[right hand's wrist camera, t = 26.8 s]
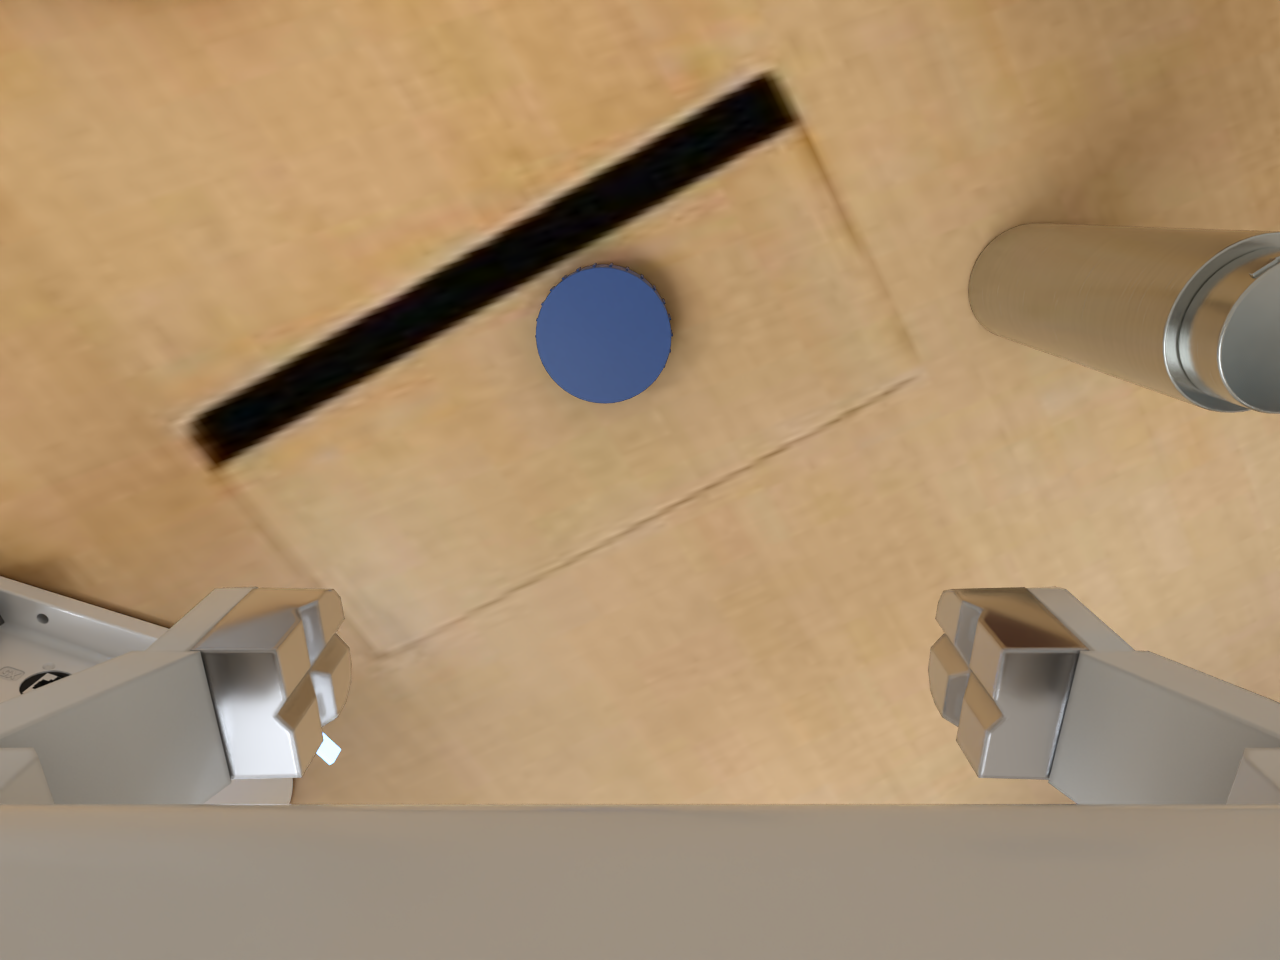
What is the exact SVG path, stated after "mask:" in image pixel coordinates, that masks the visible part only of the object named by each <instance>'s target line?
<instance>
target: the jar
mask: <svg viewBox="0 0 1280 960" xmlns="http://www.w3.org/2000/svg"><path fill="white" fill-rule="evenodd" d="M969 301H970V306H971V309H972V311H973V313H974V315H975V317H976V319H977V320H978V321H979V323H980V324H981V325H982V326H983V327H984V328H985V329H987V330H988V331H989V332H991V333H993V334H995V335H997V336H1000V337H1003V338H1006V339H1009V340H1011V341H1014V342H1017V343H1020V344H1023V345H1026V346H1028V347H1031V348H1034V349H1037V350H1040V351H1043V352H1045V353H1048V354H1051V355H1054V356H1057V357H1059V358H1062V359H1065V360H1068V361H1071V362H1074V363H1076V364H1079V365H1082V366H1085V367H1088V368H1091V369H1093V370H1096V371H1099V372H1102V373H1105V374H1108V375H1110V376H1113V377H1116V378H1119V379H1122V380H1125V381H1127V382H1130V383H1133V384H1136V385H1139V386H1142V387H1144V388H1147V389H1150V390H1153V391H1156V392H1159V393H1161V394H1164V395H1167V396H1170V397H1173V398H1176V399H1178V400H1181V401H1184V402H1187V403H1190V404H1193V405H1195V406H1198V407H1201V408H1204V409H1207V410H1211V411H1217V412H1230V413H1232V412H1243V411H1248V410H1255V411H1258V412H1263V413H1270V414H1280V232H1271V231H1243V230H1215V229H1187V228H1158V227H1130V226H1102V225H1074V224H1045V223H1030V224H1024V225H1019V226H1016V227H1014V228H1011V229H1009V230H1007V231H1005V232H1003V233H1002V234H1000V235H999V236H997V237H996V238H995V239H994V240H993V241H991V242H990V243H989V245H988V246H987V247H986V248H985V249H984V250H983V252H982V253H981V254H980V256H979V257H978V259H977V261H976V263H975V265H974V267H973V270H972V273H971V276H970V281H969Z"/></svg>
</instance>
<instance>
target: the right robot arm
mask: <svg viewBox="0 0 1280 960" xmlns="http://www.w3.org/2000/svg"><path fill="white" fill-rule="evenodd" d="M344 619H345V618H344V613H343V608H342V603H341V598H340V596H339V595H338V594H337V593H336V591H335V590H334V589H307V588H258V587H232V588H216V589H214V590H213V591H212V592H211V593H210V594H208V595H207V596H206V597H205V598H204V599H203V600H202V601H200V602H199V603H198V604H197V605H196V606H195V607H194V608H193V609H191V610H190V611H189V612H188V613H187V614H186V615H185V616H183V617H182V618H181V619H180V620H179V621H178V622H177V623H175V624H174V625H173V626H172V627H171V628H170V629H168V628H165V627H162V626H159V625H156V624H152V623H149V622H146V621H143V620H140V619H136V618H133V617H130V616H127V615H124V614H120V613H117V612H114V611H111V610H108V609H104V608H101V607H98V606H95V605H92V604H88V603H85V602H82V601H79V600H76V599H72V598H69V597H66V596H63V595H60V594H56V593H53V592H50V591H47V590H44V589H40V588H37V587H34V586H31V585H28V584H24V583H21V582H18V581H15V580H12V579H8V578H5V577H2V576H0V960H1280V703H1279V702H1276V701H1274V700H1271V699H1268V698H1266V697H1263V696H1261V695H1258V694H1256V693H1253V692H1251V691H1248V690H1246V689H1243V688H1241V687H1238V686H1236V685H1233V684H1231V683H1228V682H1225V681H1223V680H1220V679H1218V678H1215V677H1213V676H1210V675H1208V674H1205V673H1203V672H1200V671H1198V670H1195V669H1193V668H1190V667H1187V666H1185V665H1182V664H1180V663H1177V662H1175V661H1172V660H1170V659H1167V658H1165V657H1162V656H1160V655H1157V654H1155V653H1152V652H1149V651H1135V650H1134V649H1133V648H1132V647H1131V646H1130V645H1128V644H1127V643H1126V642H1125V641H1124V640H1123V639H1122V638H1121V637H1119V636H1118V635H1117V634H1116V633H1115V632H1114V631H1113V630H1111V629H1110V628H1109V627H1108V626H1107V625H1106V624H1105V623H1104V622H1102V621H1101V620H1100V619H1099V618H1098V617H1097V616H1096V615H1094V614H1093V613H1092V612H1091V611H1090V610H1089V609H1088V608H1087V607H1085V606H1084V605H1083V604H1082V603H1081V602H1080V601H1079V600H1078V599H1076V598H1075V597H1074V596H1073V595H1072V594H1071V593H1070V592H1068V591H1067V590H1066V589H1063V588H1059V587H1037V588H1025V587H1020V588H978V589H951V590H945V591H943V593H942V595H941V597H940V599H939V602H938V606H937V612H936V618H935V619H936V621H937V622H938V624H939V625H940V627H941V628H942V630H943V631H944V634H943V635H942V636H941V637H940V638H939V639H938V641H937V642H936V643H935V644H934V645H933V646H932V647H931V650H930V658H929V666H928V673H929V683H930V691H931V694H932V697H933V700H934V703H935V705H936V707H937V709H938V711H939V712H940V714H941V716H942V717H943V718H944V719H946V720H948V721H949V722H951V723H953V724H954V725H956V726H957V727H958V732H957V738H956V741H957V743H958V745H959V746H960V748H961V749H962V751H963V753H964V754H965V756H966V758H967V759H968V761H969V763H970V764H971V766H972V768H973V769H974V771H975V773H976V774H977V776H978V778H1009V779H1046V780H1049V781H1048V783H1050V784H1051V785H1052V786H1054V787H1055V788H1056V789H1058V790H1059V791H1060V792H1062V793H1063V794H1064V795H1066V796H1067V797H1069V798H1070V799H1071V800H1073V801H1074V802H1075V803H1077V804H290V801H291V796H292V790H293V778H302V776H303V774H304V773H305V771H306V769H307V768H308V766H309V764H310V763H311V761H312V759H313V758H314V756H315V754H316V753H317V754H318V755H319V756H320V757H321V758H322V759H324V760H325V761H326V762H327V763H328V764H329V765H330V764H332V763H333V762H334V761H335V759H336V758H337V756H338V754H339V752H340V750H341V749H340V748H339V747H338V746H337V745H336V744H335V743H334V742H333V741H331V740H330V739H329V738H328V737H327V736H326V735H325V734H324V733H323V732H322V727H323V726H324V725H326V724H328V723H329V722H331V721H332V720H334V719H336V718H337V717H338V716H339V714H340V712H341V710H342V709H343V707H344V705H345V703H346V701H347V697H348V693H349V688H350V684H351V667H352V663H351V656H350V649H349V647H348V646H347V645H346V644H345V643H344V642H343V641H342V639H341V638H340V637H339V636H338V635H337V634H336V631H337V630H338V628H339V627H340V625H341V624H342V622H343V621H344Z"/></svg>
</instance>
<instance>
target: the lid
mask: <svg viewBox="0 0 1280 960" xmlns="http://www.w3.org/2000/svg"><path fill="white" fill-rule="evenodd" d="M550 291H551V292H550V294H549V295H548V296H547V298H546V300H545V301H544V302H543V303H542V304H541V305H542V307H541V310H540V312H539V316H538V318H537V320H536V321H537V326H536V335H535V337H536V342H537V348H538V353H539V356H540V359H541V361H542V364H543V365H544V367H545V369H546V371H547V372H548V374H549V375H550V376H551V378H552V379H553V380H554V381H555V382H556V383H557V384H558V385H559V386H560V387H561V388H562V389H564V390H565V391H567V392H568V393H570V394H571V395H573V396H575V397H577V398H580V399H583V400H586V401H589V402H595V403H615V402H620V401H624V400H627V399H630V398H632V397H634V396H636V395H638V394H640V393H641V392H643V391H644V390H645V389H647V388H648V387H649V386H650V385H651V384H652V383H653V382H654V381H655V380H656V379H657V377H658V376H659V374H660V373H661V371H662V370H663V368H664V367H665V364H666V362H667V359H668V356H669V353H670V352H671V349H670V347H671V336H673V333H672V330H671V326H670V321H669V320H671V317H670V314H668V313H667V310H666V307H665V305H664V304H665V300H664V298H663V299H662V298H661V297H660V295H659V294H658V292H657V291H656V287H655V285H653V286H652V285H651V284H650V283H649V282H648V281H647V280H646V279H645V278H644V277H643V275H642V274H641V276H640V275H639V274H638V273H636V272H634V271H632V270H630V269H629V267H626V268H624V267H621V266H616V265H613V263H610V265H608V264H601V265H597V263H594V264H593V265H592V266H588V267H585V268H582V269H581V267H579V268H578V269H577V270H576V271H575V272H573V273H571V274H570V275H568V276H567V275H565V276H564V277H563V278H562V281H561V282H560V283H559V284H558V285H557V286H556V287H555V286H554V287H552V288H551V289H550Z"/></svg>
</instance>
